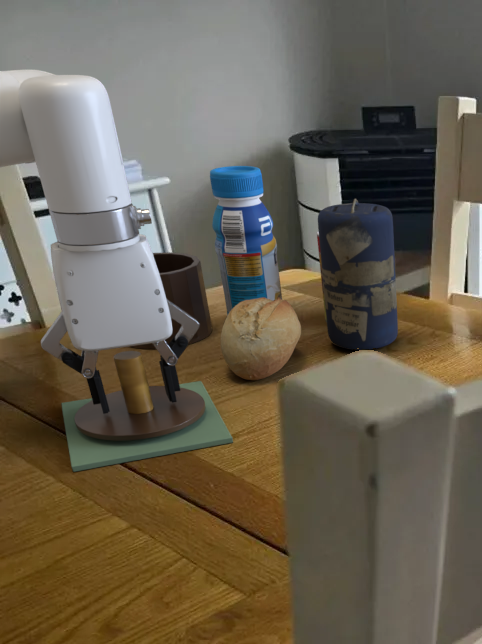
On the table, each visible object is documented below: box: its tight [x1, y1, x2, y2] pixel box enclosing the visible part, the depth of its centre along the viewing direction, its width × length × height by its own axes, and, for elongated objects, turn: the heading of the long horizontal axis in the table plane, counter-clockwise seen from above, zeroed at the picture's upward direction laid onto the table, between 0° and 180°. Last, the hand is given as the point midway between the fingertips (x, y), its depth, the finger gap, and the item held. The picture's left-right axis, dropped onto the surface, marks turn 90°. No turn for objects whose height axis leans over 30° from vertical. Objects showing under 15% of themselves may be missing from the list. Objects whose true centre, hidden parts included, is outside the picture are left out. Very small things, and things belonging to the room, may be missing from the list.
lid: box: [74, 350, 205, 441], centre depth 89 cm, size 14×14×7 cm
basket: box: [129, 251, 213, 350], centre depth 114 cm, size 13×13×10 cm
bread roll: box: [220, 297, 302, 381], centre depth 104 cm, size 10×15×8 cm, turn 0°
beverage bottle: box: [209, 165, 283, 317], centre depth 115 cm, size 8×8×20 cm
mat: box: [60, 380, 234, 473], centre depth 91 cm, size 16×18×1 cm
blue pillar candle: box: [317, 198, 399, 351], centre depth 107 cm, size 10×10×18 cm
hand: (138, 402), depth 90 cm, fingers open, 6 cm apart
